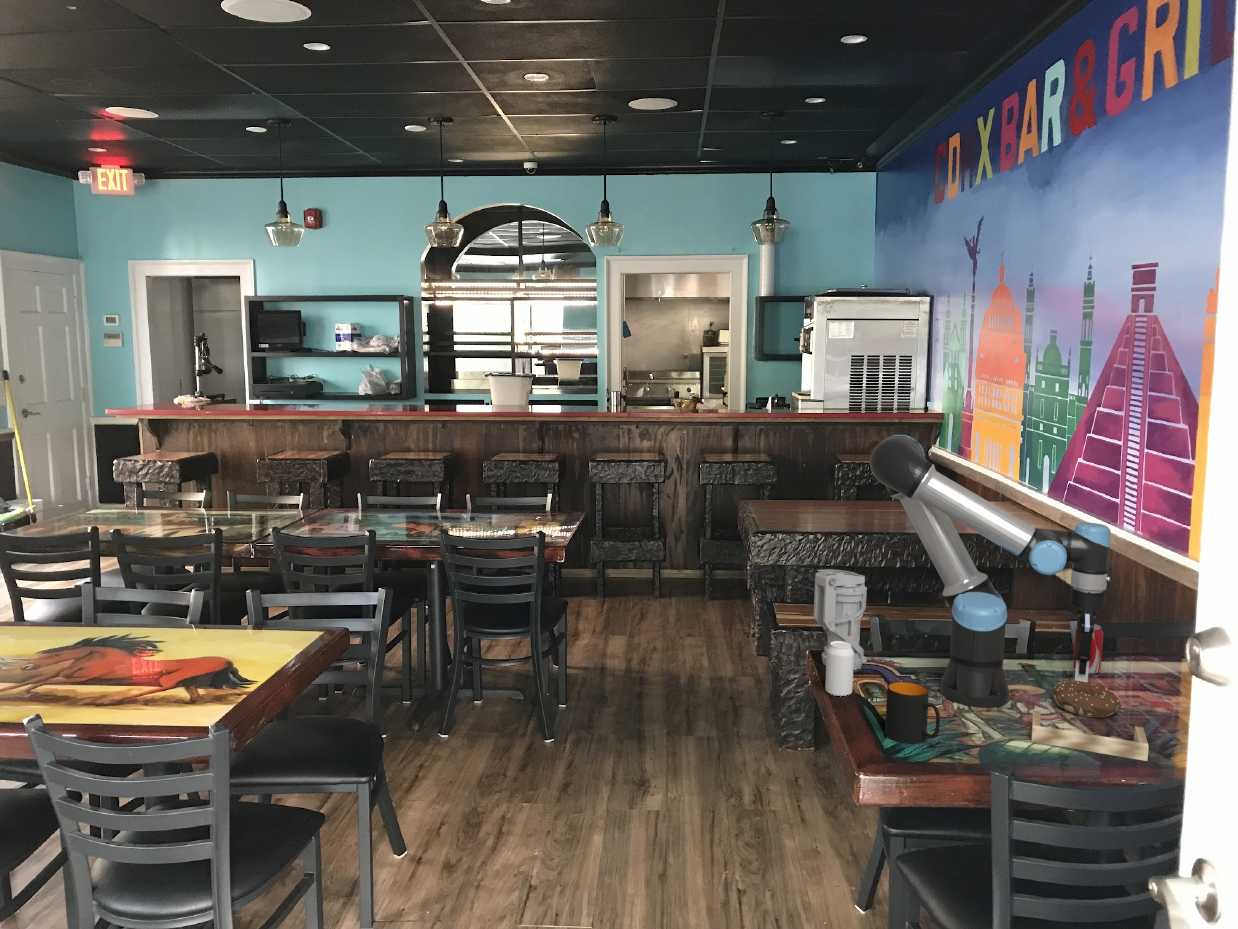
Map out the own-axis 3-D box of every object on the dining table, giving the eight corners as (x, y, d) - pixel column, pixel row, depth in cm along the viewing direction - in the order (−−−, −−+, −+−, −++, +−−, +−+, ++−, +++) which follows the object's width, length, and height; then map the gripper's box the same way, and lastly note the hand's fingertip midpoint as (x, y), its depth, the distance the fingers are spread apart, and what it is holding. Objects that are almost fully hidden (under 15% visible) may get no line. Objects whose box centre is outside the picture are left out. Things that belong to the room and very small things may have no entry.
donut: (1043, 696, 218) (1044, 675, 217) (1104, 700, 216) (1106, 679, 215) (1063, 720, 204) (1065, 698, 203) (1129, 724, 202) (1131, 702, 201)
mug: (925, 754, 185) (928, 704, 183) (876, 733, 194) (879, 686, 193) (950, 744, 190) (953, 695, 188) (901, 724, 199) (903, 678, 198)
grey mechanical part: (846, 656, 244) (850, 563, 241) (871, 669, 234) (876, 572, 231) (805, 662, 239) (808, 567, 236) (829, 675, 229) (833, 576, 226)
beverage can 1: (823, 696, 215) (825, 646, 214) (827, 687, 221) (829, 638, 219) (850, 700, 213) (852, 649, 211) (854, 691, 219) (856, 642, 217)
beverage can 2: (1103, 676, 231) (1107, 630, 230) (1076, 674, 232) (1080, 628, 231) (1095, 668, 237) (1099, 623, 236) (1069, 666, 238) (1073, 621, 237)
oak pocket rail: (1031, 741, 191) (1032, 727, 191) (1031, 723, 201) (1032, 710, 201) (1147, 761, 183) (1148, 746, 183) (1141, 741, 192) (1143, 727, 192)
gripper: (1108, 597, 210) (1100, 697, 213) (1104, 584, 222) (1096, 679, 225) (1071, 593, 213) (1064, 692, 216) (1069, 581, 225) (1062, 674, 228)
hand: (1080, 685), depth 220 cm, fingers closed
